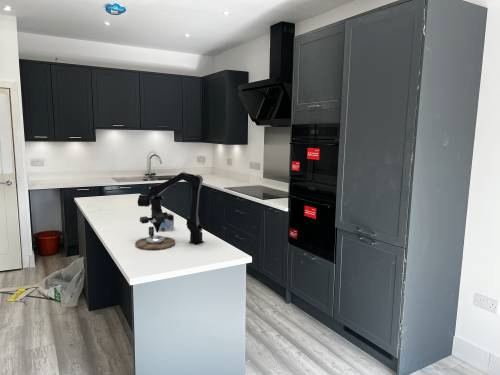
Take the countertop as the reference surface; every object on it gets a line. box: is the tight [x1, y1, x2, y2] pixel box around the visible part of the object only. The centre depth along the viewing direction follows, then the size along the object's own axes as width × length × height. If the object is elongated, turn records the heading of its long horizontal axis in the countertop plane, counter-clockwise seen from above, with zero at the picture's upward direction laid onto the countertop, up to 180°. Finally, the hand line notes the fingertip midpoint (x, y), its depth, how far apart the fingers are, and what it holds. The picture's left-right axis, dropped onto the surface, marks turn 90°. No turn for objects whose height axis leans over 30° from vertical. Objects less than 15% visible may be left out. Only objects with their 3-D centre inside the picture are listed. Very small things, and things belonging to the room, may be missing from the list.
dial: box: [145, 226, 165, 244], centre depth 217 cm, size 14×10×6 cm
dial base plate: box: [134, 236, 176, 251], centre depth 216 cm, size 22×22×2 cm
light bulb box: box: [158, 212, 175, 232], centre depth 248 cm, size 11×7×11 cm, turn 105°
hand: (157, 232), depth 224 cm, fingers closed
